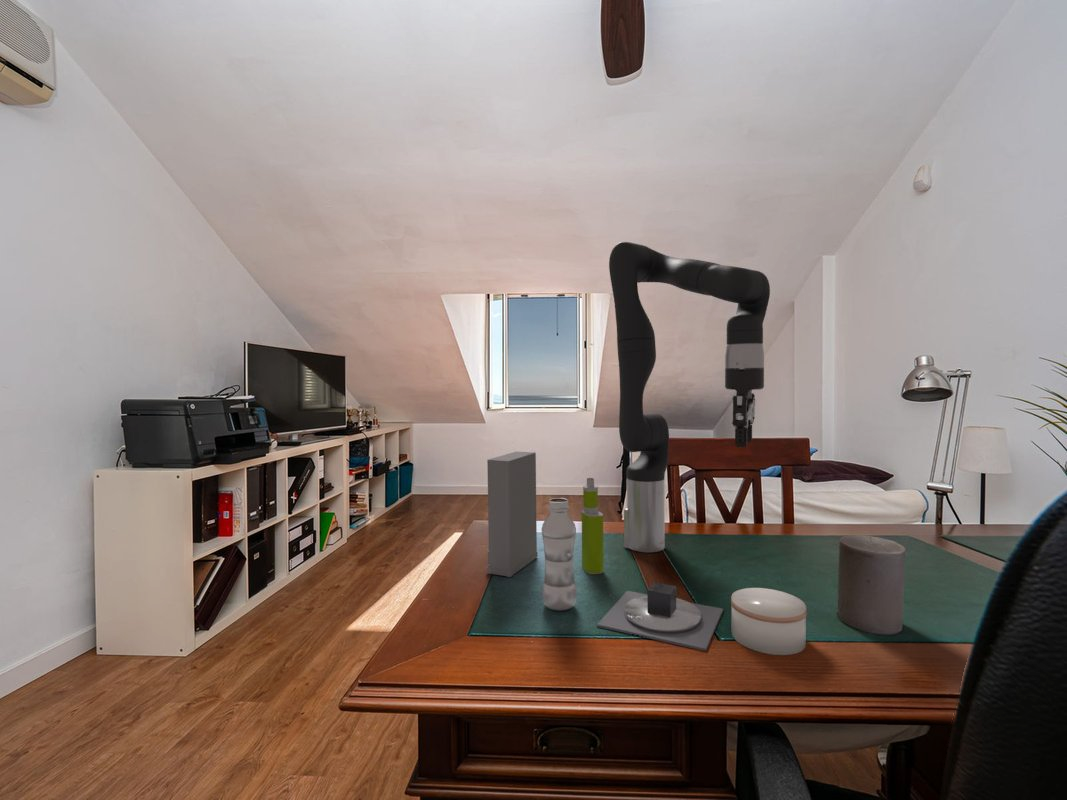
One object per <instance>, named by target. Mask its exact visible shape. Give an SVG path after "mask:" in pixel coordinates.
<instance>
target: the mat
mask: <svg viewBox="0 0 1067 800" xmlns="http://www.w3.org/2000/svg"><path fill="white" fill-rule="evenodd" d="M643 596H647V593H642V592H636V591H630V590H626V591H625V592H624V594H623V595H622V596H621V597H620V598H619V599H618V601H617V602H615V604H614V605H613V606H612V607H611V608H610V609H609V610H608V612H607V613H606V614H605V615H604V616H603V617H602V618H601V620H600V621H598V623H597V624H596V626H597V627H598V628H602V629H607V630H610V631H613V632H614V631H615V632H620V633H625V634H628V635H632V634H634V635H633V636H636V635H639V636H638V637H641V636H643V637H642V638H645V637H647V638H646V639H651V640H655V641H659V642H663V643H669V644H672V645H677V646H682V647H685V648H691V649H694V650H699V651H704V652H707V650H708V648H709V644H710V643H711V640H712V638H713V635H714V634H715V631H716V629H717V626H718V624H719V621H720V619H721V617H722V614H723V612H724V608H723V607H722V608H720V607H716V606H710V605H704V604H698V603H695V602H694V603H693V602H690V601H688V602H689V603H691V604H693V605H694V606H696V607H697V608H698V609H699V611H700V613H701V622H700V625H699V626H698V627H697V628H695V629H694V630H691V631H688V632H684V633H678V634H663V633H655V632H650V631H647V630H644V629H641V628H638V627H636V626H634V625H633V624H631V623H630V622H629V621H628V620H627V619H626V617H625V605H626V604H627V603H628V602H629V601H630V600H632V599H635V598H638V597H643Z"/></svg>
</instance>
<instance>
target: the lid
mask: <svg viewBox="0 0 1067 800" xmlns="http://www.w3.org/2000/svg"><path fill="white" fill-rule="evenodd" d="M646 592H647V593H646V594H647V596H643V597H638V598H635V599H632V600H630V601H629V602H628V603H627V604H626V605H625V617H626V619H627V620H628V621H629V622H630V623H631V624H633V625H634V626H636V627H638V628H641V629H644V630H647V631H650V632H655V633H663V634H678V633H684V632H688V631H691V630H694V629H695V628H697V627H698V626H699V625H700V622H701V613H700V611H699V609H698V608H697V607H696V606H694V605H693V604H691V603H692V602H690V601H687V600H684V599H681V598H678V597H677V586H676V585H671V584H665V583H660V582H655V581H654V582H653V583H652V584H651V585H650V586H649V587H648V589H647V591H646ZM689 602H690V603H689Z"/></svg>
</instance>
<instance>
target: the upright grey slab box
mask: <svg viewBox="0 0 1067 800" xmlns="http://www.w3.org/2000/svg"><path fill="white" fill-rule="evenodd" d="M536 455H537V454H536V452H533V451H531V452H530V451H516V450H515V451H513V452H512V451H511V452H510V453H505V454H503V455H500V456H499V455H498V456H496V457H492V458H489V459H487V462H486V463H487V464H486V465H487V508H488V510H487V513H488V515H487V517H488V519H487V520H488V521H487V522H488V523H487V524H488V527H487V528H488V551H487V564H488V566H487V567H486V568H485V569H486V570H485V571H486V574H488V575H497V576H504V577H506V578H512V576H514V575H515V574H516V573H518V572H519V571H520V570H521V569H523V568H525V567H526V566H527V565H529V563H531V562H532V561H534V560H536V559H537V558H538V553H539V552H538V549H537V548H538V546H537V545H538V543H537V542H538V540H537V539H538V538H537V537H538V534H537V533H538V532H537V530H538V529H537V527H538V526H537V463H536V462H537V457H536Z"/></svg>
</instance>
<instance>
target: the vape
mask: <svg viewBox="0 0 1067 800" xmlns="http://www.w3.org/2000/svg"><path fill="white" fill-rule="evenodd" d="M582 488H583V494H582V495H583V497H582V498H583V501H582V503H583V504H582V506H583V507H582V510H581V568H582V569H583V570H584V571H585V572H586V573H587V574H590V575H597V574H602V573H604V514H603V513H602V512H601V511H599V504H598V502H599V497H598V496H599V494H598V491H599V490H598V489H599V486H598V485H595V478H593V477H587V478H586V485H584V486H583V487H582Z"/></svg>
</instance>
